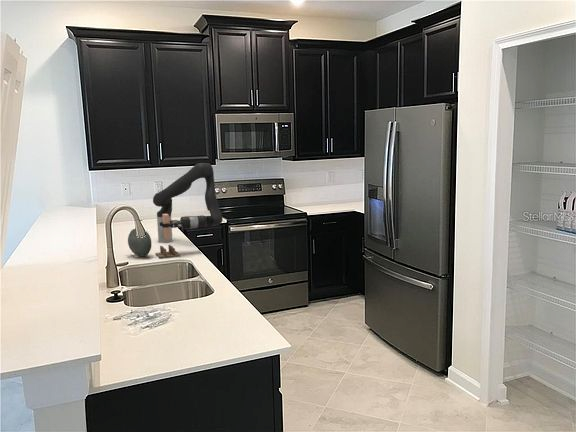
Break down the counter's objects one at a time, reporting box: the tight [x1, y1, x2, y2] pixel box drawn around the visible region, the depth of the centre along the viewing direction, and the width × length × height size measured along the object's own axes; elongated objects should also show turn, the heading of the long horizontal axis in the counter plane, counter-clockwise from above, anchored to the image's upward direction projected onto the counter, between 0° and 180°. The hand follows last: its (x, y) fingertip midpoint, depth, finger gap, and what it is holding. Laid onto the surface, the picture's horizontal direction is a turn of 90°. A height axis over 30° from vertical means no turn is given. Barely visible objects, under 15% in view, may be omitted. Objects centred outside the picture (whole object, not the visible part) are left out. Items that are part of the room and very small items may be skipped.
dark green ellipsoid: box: [127, 219, 152, 258], centre depth 283 cm, size 12×17×22 cm
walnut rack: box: [154, 244, 181, 260], centre depth 286 cm, size 12×12×5 cm
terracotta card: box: [162, 214, 170, 239], centre depth 284 cm, size 6×2×14 cm, turn 27°
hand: (161, 225), depth 282 cm, fingers closed on terracotta card, 6 cm apart
